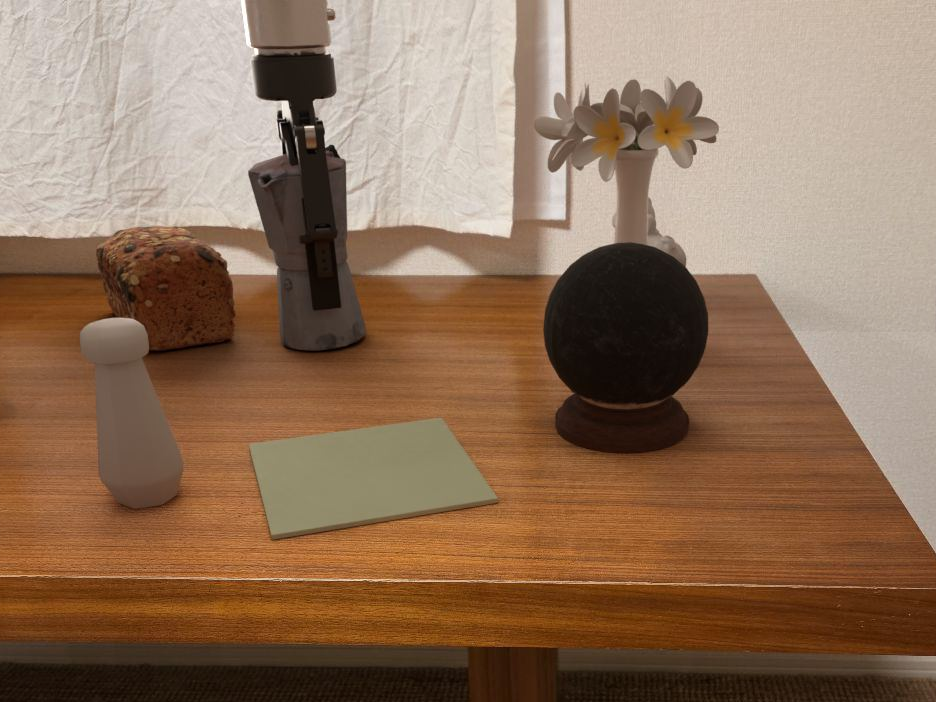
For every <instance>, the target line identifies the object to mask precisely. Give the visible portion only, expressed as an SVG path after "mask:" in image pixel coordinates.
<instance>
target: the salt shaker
mask: <svg viewBox="0 0 936 702" xmlns="http://www.w3.org/2000/svg"><path fill="white" fill-rule="evenodd" d="M79 346H80V350H81V353H82V356H83V357H84V359H85V360H86V361H88V362H90V363H91V364H94V386H95V388H94V389H95V390H94V391H95V413H96V415H95V416H96V439H97V440H96V442H97V443H96V446H97V447H96V448H97V473H98V477H99V478H100V482H101V483H102V484H103V486H104V487H105V488H106V489H107V491H109V493H110V495H111V496H112V497H113V498H114V500H116V502H117V503H118V504H121V505H123V506H126V507H129V508H131V509H134V510H138V509H145V508H153V507H160V506H163V505H164V504H165V503H167V502H169V501H170V500H172V499H173V498H174V497H176V496H178V495H179V492H180V491H179V490H180V486H181V481H182V478H183V475H184V474H183V473H184V456H183V454H182V451H181V449H180V447H179V444H178V442H177V440H176V438H175V435H174V433H173V430H172V428H171V426H170V423H169V420H168V418H167V416H166V414H165V411H164V409H163V407H162V404H161V401H160V400H159V397H158V394H157V392H156V389H155V387H154V385H153V383H152V380H151V377H150V374H149V371H148V370H147V366H146V365H145V362H144V360H143V357H145V356H146V355H147V354H149V351H150V350H149V342H148V335H147V332H146V330H145V327H144V325H142V324H141V323H139V322H138V321H136V320H134V319H129V318H117V317H110V318H102V319H99V320H95V321H92V322H90V323H88V324H87V325H84V327H82V330H80V333H79Z"/></svg>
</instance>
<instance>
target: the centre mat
mask: <svg viewBox="0 0 936 702" xmlns="http://www.w3.org/2000/svg"><path fill="white" fill-rule="evenodd" d="M248 449H249V453H250V457H251V461H252V465H253V468H254V473H255V477H256V481H257V485H258V489H259V493H260V497H261V501H262V506H263V509H264V513H265V517H266V523H267V525H268V530H269V533H270V538H271V540H273V541H274V540H280V539H287V538H292V537H298V536H305V535H310V534H316V533H322V532H323V533H324V532H328V531H329V532H330V531H335V530H340V529H348V528H353V527H360V526H366V525H372V524H379V523H383V522H390V521H396V520H401V519H407V518H415V517H422V516H426V515H432V514H439V513H444V512H445V513H446V512H452V511H457V510H462V509H470V508H475V507H479V506H481V507H482V506H486V505H493V504H498V503H499V497H498V496H497V495H496V492H494V490H493V488H492V487H491V486H490V485H489V483H488V481H487V480H486V479H485V477H484V476H483V474H482V473H481V471H480V470H479V469H478V467H477V466H476V464H475V462H474V461H473V460H472V458H470V456H469V454H468V453H467V451H466V450H465V448H464V447H463V445H461V443H460V442H459V440H458V438H457V437H456V436H455V434H454V433H453V431H452V430H451V428H450V427H449V426H448V424H447V423H446V422H445V420H444V418H443V417H436V418H435V417H434V418H428V419H420V420H414V421H413V420H412V421H405V422H398V423H391V424H383V425H376V426H370V427H362V428H354V429H347V430H340V431H332V432H325V433H318V434H311V435H304V436H296V437H289V438H281V439H275V440H265V441H259V442H251V443H248Z"/></svg>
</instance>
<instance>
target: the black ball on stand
mask: <svg viewBox="0 0 936 702" xmlns="http://www.w3.org/2000/svg"><path fill="white" fill-rule="evenodd" d="M542 331H543V342H544V348H545V350H546V353H547V358H548V360H549V362H550V364H551V366H552V368H553V370H554V371H555V374H556V375H557V377H558V378H559V379H560V380H561V382H562V383H563V384H564V385H565V386H566V387H567V388H568V389H569V390H570V392H572V393H573V394H570V395H569V396H568V397H566V398H565V400H564V401H563V403H562V405H561V406H560V407H558V409H557V410H556V412H555V415H554V417H555V418H554V423H555V424H554V427H555V430H556V432H557V433H558V435H559V436H561V438H563V440H566V441H568V442H569V443H571V444H573V445H575V446H578V447H581V448H585V449H587V450H592V451H598V452H603V453H612V454H613V453H614V454H637V453H648V452H653V451H659V450H662V449H665V448H668V447H671V446H673V445H675V444H677V443H679V442H680V441H682V440H684V438H685V437H686V436H687V435H688V432H689V429H690V427H689V426H690V418H689V414H688V413H687V412H686V410H685V409H684V406H683V405H682V404H681V402H680V401H679V400H678V399H677V398H675V397H674V395H675V394H676V393H677V392H678V391H679V390H680V389H682V388H683V387H684V386H685V385H686V383H688V382H689V381H690V379H691V378H692V377H693V375H694V373H695V372H696V370H697V369H698V368H699V366H700V363H701V361H702V359H703V356H704V353H705V350H706V346H707V342H708V336H709V313H708V309H707V304H706V299H705V297H704V294H703V293H702V290H701V288H700V286H699V284H698V282H697V280H696V278H695V277H694V276H693V274H692V273H691V271H689V269H688V268H687V266H686V267H685V266H684V265H683V264H682V263H680V262H679V261H678V260H677V259H676V258H675V257H673V256H671V255H669V254H667V253H665V252H664V251H662V250H660V249H658V248H656V247H653V246H648V245H644V244H638V243H632V242H626V243H615V244H614V243H610V244H606V245H602V246H598V247H597V248H595V249H592V250H591V251H588V252H586V253H585V254H583V255H581V256H580V257H579V258H578V259H576V260H575V261H574V262H572V263H571V264H570V265H569V266H568V267H567V268H566V270H564V272H563V273H562V274H561V275H560V276H559V278H558V279H557V281H556V282H555V284H554V286H553V288H552V289H551V292H550V293H549V296H548V299H547V302H546V306H545V309H544V319H543V328H542Z"/></svg>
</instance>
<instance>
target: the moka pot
mask: <svg viewBox="0 0 936 702" xmlns="http://www.w3.org/2000/svg"><path fill="white" fill-rule="evenodd" d="M325 151H326V158H327V166H328V173H329V180H330V188H331V195H332V203H333V210H334V217H335V225H336V229H337V231H338V234H337V238H335V239H334V242H335V252H336V261H337V271H338V280H339V289H340V299H341V308H335V309H325V310H315V311H314V310H313V307H312V299H311V291H310V282H309V274H308V266H307V257H306V249H305V244H300V242H299V237H300V236H303V235H305V234H306V231H305V225H304V218H303V208H302V199H301V198H303V191H302V184H301V177H300V170H299V165H295V166H291V165H290V164H289V161H288V158H287V154H284V155H282V154H281V155H278V156H275V157H272V158H269V159H265V160H262V161H259V162H256V163H254V165H253V166H251V167H250V169H248V171H247V176H248V179H249V182H250V186H251V190H252V192H253V196H254V200H255V203H256V207H257V210H258V214H259V216H260V222H261V224H262V228H263V231H264V234H265V239H266V242H267V245H268V248H269V249H271V250H272V253H273V258H274V263H275V265H276V266H277V269H276V279H277V280H276V285H277V300H278V301H277V304H278V305H277V307H278V327H279V331H278V332H279V337H280V341H281V344H282V345H283V346H284V347H287V348H290V349H292V350H298V351H312V352H315V351H317V352H319V351H326V350H327V351H328V350H334V349H340V348H343V347H347V346H349V345H352V344H355V343H357V342H358V341H359V340H361V339H362V338H363V337H364V336H365V335H366V333H367V327H366V323H365V319H364V316H363V315H364V314H363V311H362V308H361V305H360V301H359V298H358V294H357V290H356V287H355V284H354V279H353V276H352V272H351V268H350V266H349V263H348V249H347V240H348V205H347V204H348V203H347V202H348V201H347V196H348V195H347V160H346V159H344V158H341V156H340V154H339V153H338V150H337V149H336V146H335V145H334V144H329V145H328V146H325ZM295 158H296V157H295ZM296 159H298V158H296ZM303 199H304V198H303ZM315 226H325V224H318V225H315Z"/></svg>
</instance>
